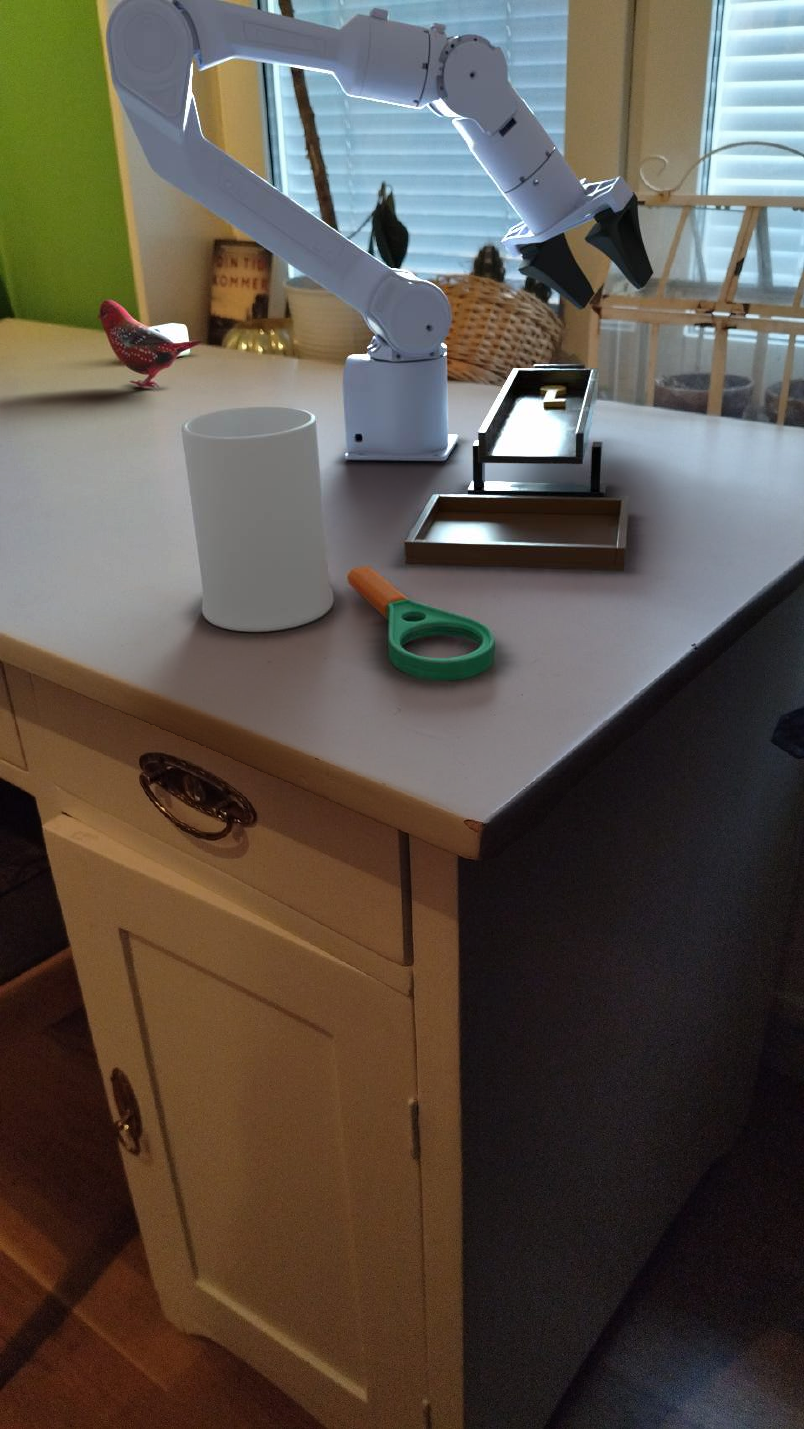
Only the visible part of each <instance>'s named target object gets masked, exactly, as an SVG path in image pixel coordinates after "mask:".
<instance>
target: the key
mask: <svg viewBox="0 0 804 1429" xmlns="http://www.w3.org/2000/svg"><path fill="white" fill-rule="evenodd" d="M540 394H542V395H545V399H544V401H543V407H565V405H566V399H556V397H557V396H560V395H564V394H566V387H564V386H559V385H549V386H544V387H541V388H540Z"/></svg>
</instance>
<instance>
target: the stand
mask: <svg viewBox="0 0 804 1429" xmlns="http://www.w3.org/2000/svg"><path fill="white" fill-rule="evenodd" d="M602 463H603V442H602V441H592V444H591V456H590V477H589V478H590V479H589V483H578V482H577V483H572V482H569V483H568V482H521V481H519V482H518V481H516V482H515V481H486V463H479V462H478V440H474V442H473V445H472V481H471V483H470V484H469V486H468V488H467V495H496V496H545V497H594V498H605V495H606V487H607V484H606V483H602V466H603V464H602Z"/></svg>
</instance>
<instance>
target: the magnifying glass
mask: <svg viewBox="0 0 804 1429" xmlns="http://www.w3.org/2000/svg"><path fill="white" fill-rule="evenodd" d="M347 583H348V584H349V586H350V587H352V588H353V589H354V590H355V591H356V592H357V593H358V594H359V595H360V596H361V597H362V598H364V599H365V600H366V602H368V603H369V604H370V605H371V606H372V607H373V608H375V609H376V611H378V612H379V613H380V614H381V616H383V617H384V618H385V619H386V620H387V621H388V636H387V639H388V640H387V645H388V658H389V660H390V662H391V663H392V665H393V666H394V667H396V668H397V669H398V670H400V671H401V672H403V673H405V674H407V675H410V676H413V677H415V678H419V679H425V680H429V681H431V680H432V681H442V682H444V681H446V682H447V681H448V682H449V681H458V680H464V679H468V678H471V677H475V676H477V675H479V674H481V673H484V672H485V671H486V670H488V669H489V668H490V667H491V666H492V665H493V663H494V660H495V650H496V639H495V635H494V633H493V631H492V630H491V629H490V628H489V627H488V626H487V625H486V624H484V623H483V622H481V621H479V620H476V619H474V618H471V617H468V616H465V615H463V614H458V613H455V612H451V611H449V610H446V609H445V610H444V609H441V608H439V607H434V606H431V605H429V604H425V603H421V602H418V601H415V600H412V599H411V598H407V596H405V595H404V594H403V593H402V592H400V591H399V590H398V589H397V588H396V587H395V586H394V585H393V584H391V583H390V582H389V581H388V580H386V579H385V578H384V577H383V576H382V575H380V574H379V573H378V572H377V571H376V570H374V569H373V568H372V567H370V566H369V565H363V566H359V567H358V566H357V567H354V568H352V569H351V570H350V571H349V573H348V574H347ZM434 635H452V636H458V637H462V638H466V639H469V640H472V641H474V642H475V643H477V644H478V645H479V647H478V648H477V649H476V650H474V651H472V652H469V653H467V654H463V655H459V656H454V657H426V656H421V655H417V654H415V653H412V652H410V651H407V650H406V649H404V648H403V647H404V645H406V644H407V643H409V642H411V641H412V640H415V639H418V638H421V637H426V636H427V637H428V636H434Z"/></svg>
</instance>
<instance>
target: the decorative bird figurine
mask: <svg viewBox="0 0 804 1429" xmlns="http://www.w3.org/2000/svg"><path fill="white" fill-rule="evenodd" d="M97 319H98V320H100V322H101V325H102V328H103V331H104V332H105V335H106V337H107V341H108V343H109V345H110V348H111V349H112V351H113V354H114V355H115V356H116V357H117V358H118V361H120V362H121V363H122V364H123V365H124V366H125V367H127V368H128V369H129V370H131V371H132V372H135V373H137V374H139V375H145V376H146V375H147V377H146V378H144V380H141V379H139V380H137V381H135V380H130V381H129V383H132V384H135V385H137V386H138V387H141V388H144V387H149V388H155V386H156V387H158V388H159V387H160V386H159V385H158V384H157V382H155V381H152V380H153V379H154V378H156V377H157V374H159V373H160V372H161V371H162V370H164V369H168V368H169V367H171V366H172V365H173V364H174V362H175V361H176V359H177V358H178V357H179V356H178V355H179V354H180V353H181V352H183V351H185V350H188V349H190V350H191V349H192V348H194V347H197V346H198V345H200V344H202V343H203V341H202V340H200V339H198V340H197V339H196V340H189V341H187V342H180V343H173V342H172V341H171V340H170V339H168V338H167V337H165V336H164V335H162V334H161V333H159V332H158V331H156V330H154V329H152V328H150V327H151V326H148V325H145V324H143V323H141V322H140V321H138V320H136V319H135V318H134V317H132V315H131V314H129V312H128V311H127V310H126V309H125V307H123V305H120V304H119V303H118V302H116V301H114V300H111V299H105V300H104V301H102V302H101V305H100V307H99V314H98V315H97ZM177 356H178V357H177Z"/></svg>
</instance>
